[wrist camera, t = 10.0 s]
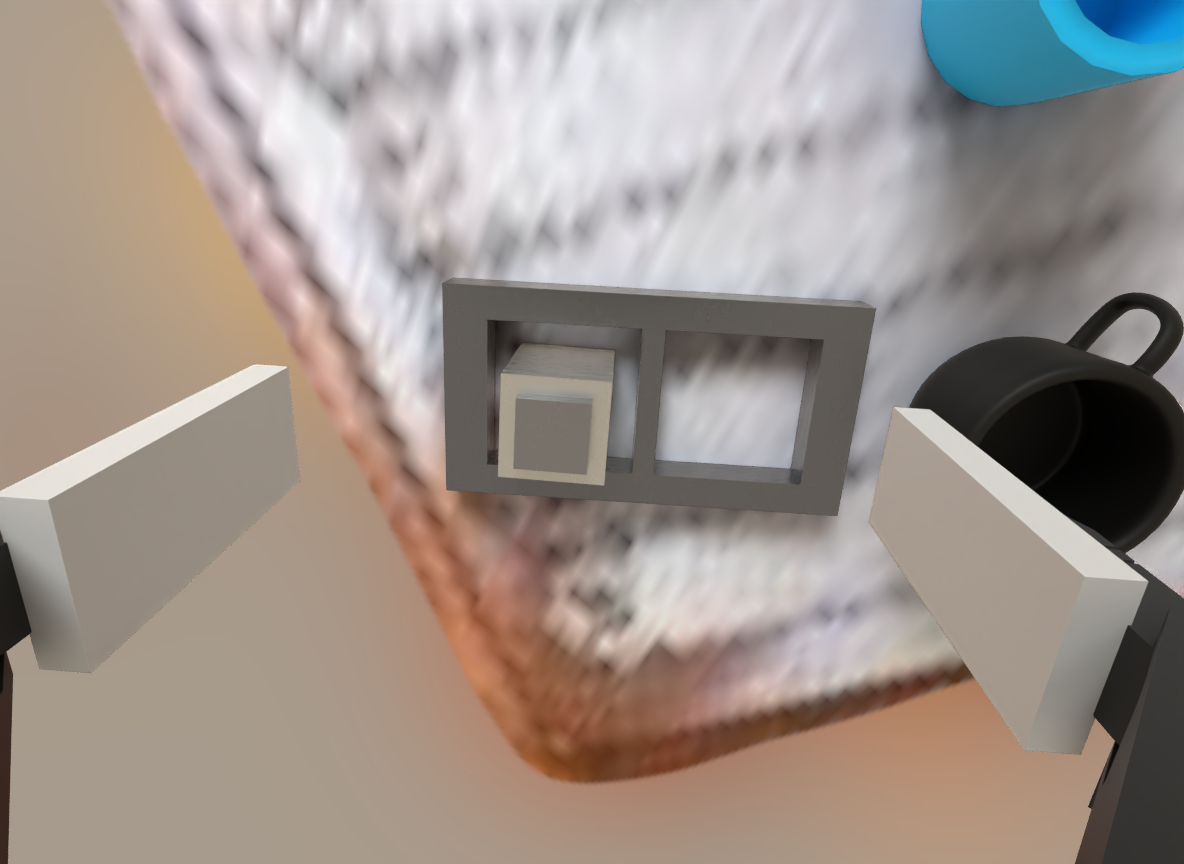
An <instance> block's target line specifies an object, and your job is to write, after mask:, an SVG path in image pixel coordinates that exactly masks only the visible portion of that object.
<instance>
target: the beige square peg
mask: <svg viewBox="0 0 1184 864" xmlns="http://www.w3.org/2000/svg"><path fill="white" fill-rule="evenodd" d="M614 358H615V350H606V349H594V348H581V347H568V346H556V345H543V344H531V343H522V344H521V345H520V346H519V348H518V349H517V351H516V352H515V354H514V355H513V357H512V358H511V359H510V361H509V362H508V364H507V365H506V367H505V368H504V369H503V371H502V372H501V384H500V420H499V456H498V477H508V478H520V479H532V480H544V481H556V482H568V483H580V484H592V485H603V486H604V481H605V469H606V457H607V445H608V433H609V421H610V409H611V397H612V385H613V372H614Z"/></svg>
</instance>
